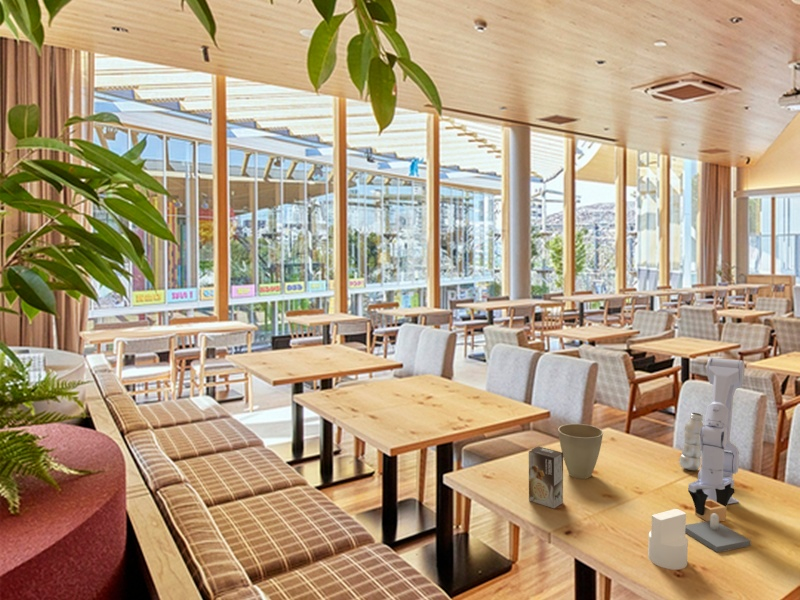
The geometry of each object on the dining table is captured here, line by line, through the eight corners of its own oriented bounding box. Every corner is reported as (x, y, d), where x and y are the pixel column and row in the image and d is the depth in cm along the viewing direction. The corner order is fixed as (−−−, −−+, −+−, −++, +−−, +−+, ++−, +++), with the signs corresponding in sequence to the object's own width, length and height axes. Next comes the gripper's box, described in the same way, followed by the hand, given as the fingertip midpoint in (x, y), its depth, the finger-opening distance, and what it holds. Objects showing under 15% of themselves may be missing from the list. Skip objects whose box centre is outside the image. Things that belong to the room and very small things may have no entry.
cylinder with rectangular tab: (669, 573, 140) (670, 525, 139) (640, 555, 148) (641, 510, 147) (695, 564, 144) (697, 518, 143) (665, 547, 152) (667, 503, 151)
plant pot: (556, 465, 209) (556, 422, 208) (599, 468, 206) (599, 424, 205) (558, 481, 195) (559, 436, 193) (605, 485, 192) (606, 438, 190)
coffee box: (564, 502, 179) (564, 452, 178) (554, 509, 175) (554, 458, 173) (537, 494, 185) (538, 445, 184) (527, 500, 181) (527, 451, 179)
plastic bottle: (676, 464, 207) (684, 410, 205) (696, 467, 206) (704, 413, 204) (681, 470, 201) (689, 415, 199) (702, 474, 200) (710, 418, 198)
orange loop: (694, 514, 170) (695, 501, 170) (710, 511, 171) (710, 499, 171) (710, 523, 165) (710, 509, 164) (725, 520, 166) (726, 507, 166)
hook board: (682, 530, 160) (682, 510, 160) (714, 524, 163) (714, 505, 163) (716, 552, 149) (717, 531, 148) (750, 545, 152) (751, 524, 151)
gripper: (702, 475, 161) (700, 521, 162) (743, 469, 165) (741, 514, 166) (683, 466, 167) (682, 511, 169) (723, 460, 171) (721, 504, 173)
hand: (710, 512), depth 168 cm, fingers open, 7 cm apart
